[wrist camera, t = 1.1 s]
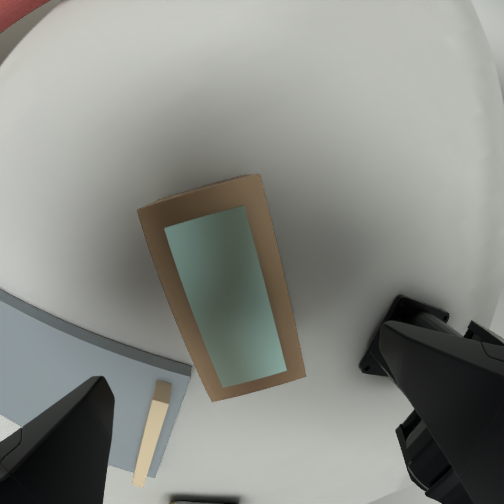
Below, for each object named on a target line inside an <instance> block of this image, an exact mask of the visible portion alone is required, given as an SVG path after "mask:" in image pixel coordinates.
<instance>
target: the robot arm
mask: <svg viewBox="0 0 504 504" xmlns="http://www.w3.org/2000/svg"><path fill="white" fill-rule="evenodd" d="M401 301H402V303H401ZM400 303H401V304H400ZM448 319H449V313H448V312H446V311H444V310H442V309H439V308H436V307H434V306H431V305H428V304H425V303H423V302H420V301H417V300H415V299H412V298H409V297H407V296H404V295H399V296H398V297H397V298H396V299H395V301H394V303H393V305H392V307H391V309H390V311H389V313H388V315H387V317H386V319H385V321H384V323H383V324H382V325H381V327H380V330H379V332H378V334H377V336H376V338H375V340H374V341H373V343H372V345H371V347H370V348H369V350H368V352H367V354H366V355H365V357H364V359H363V360H362V362H361V364H360V366H359V368H360V370H361V371H362V373H365V374H372V375H379V376H387V377H390V378H391V379H392V381H393V382H394V383H395V384H396V385H397V386H398V388H399V389H400V390H401V391H402V392H403V394H404V395H405V396H406V397H407V399H408V400H409V401H410V403H411V404H412V406H413V407H414V410H413V412H412V413H411V414H410V415H409V416H408V418H407V419H406V420H405V421H404V422H403V424H400V425H399V427H398V428H397V429H396V430H395V431H396V434H397V437H398V441H399V444H400V447H401V450H402V454H403V457H404V460H405V464H406V467H407V471H408V473H409V475H410V478H411V480H412V481H413V482H414V483H415V484H416V485H417V486H418V487H420V488H421V489H422V490H424V491H426V492H425V495H426V496H427V497H430V498H432V499H434V500H437V501H439V502H440V503H442V504H504V339H503V338H502V337H500V336H498V335H497V334H495V333H494V332H492V331H490V330H488V329H486V328H485V327H483V326H481V325H479V324H478V323H476V322H474V321H472V320H471V322H470V324H469V326H468V330H467V332H466V334H465V335H464V336H462V335H461V334H460V333H458V332H457V331H455V330H454V329H453V328H451V327H450V326H449V325H447V324H446V323H447V321H448ZM367 365H368V366H367ZM366 366H367V367H366ZM114 407H115V397H114V394H113V392H112V390H111V388H110V386H109V384H108V382H107V380H106V378H105V377H104V376H92V377H90V378H89V379H87V380H86V381H85V382H83V383H82V384H81V385H79V386H78V387H76V388H75V389H74V390H72V391H71V392H70V393H68V394H67V395H65V396H64V397H63V398H61V399H60V400H59V401H57V402H56V403H54V404H53V405H52V406H50V407H49V408H48V409H46V410H45V411H43V412H42V413H41V414H39V415H38V416H37V417H35V418H34V419H32V420H31V421H30V422H28V423H27V424H25V425H24V426H23V428H20V429H18V430H17V431H16V432H14V433H13V434H11V435H10V436H9V437H7V438H6V439H4V440H3V441H1V442H0V504H103V497H104V489H105V481H106V474H107V467H108V461H109V454H110V448H111V442H112V434H113V419H114Z"/></svg>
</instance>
